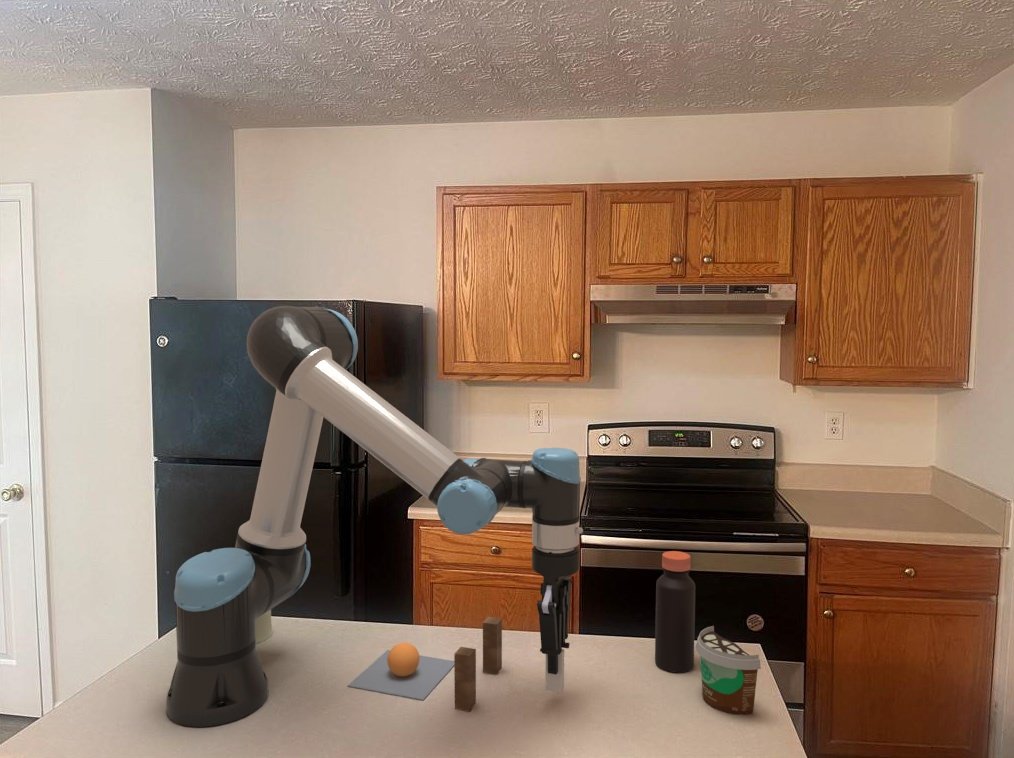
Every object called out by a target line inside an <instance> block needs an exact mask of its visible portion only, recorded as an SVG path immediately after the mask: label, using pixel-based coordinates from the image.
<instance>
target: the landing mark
mask: <svg viewBox="0 0 1014 758" xmlns="http://www.w3.org/2000/svg"><path fill="white" fill-rule="evenodd" d="M390 650H391V649H389V650H388V649H387V650H386V651H385V652H383V653H382V654H381V655H380V656H379V657H378V658H377V659H376V660H374V662H372V663H371V664H370V665H368V667H367V668H365V669H364V671H362V672H361V673H360V674H359V675H358V676H357V677H355V679H353V680H352V681H351V682H349V684H348V685H347V687H348V688H353V689H357V690H358V689H360V690H364V691H369V692H374V693H379V694H386V695H390V696H396V697H401V698H406V699H410V700H411V699H412V700H417V701H422V702H423V701H425V700H426V698H427V697H429V695H430V694H431V693H432V692H433V690H435V689H436V687H437V686H438V685H439V684H440V682H441V681H442V680H444V678H445V677H446V676H447V675H448V674H449V672H450V671H451V670H452V669H453V668H454V660H451V659H444V658H439V657H432V656H425V655H421V654H419V665H418V667H417V669H416V670H415V671H414V672H413V673H412V674H410V675H408V676H404V677H401V676H397V675H395V674H394V673H392V672H391V670H390V669H389V666H388V662H387V658H388V654H389V652H390Z"/></svg>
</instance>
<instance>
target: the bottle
mask: <svg viewBox="0 0 1014 758" xmlns="http://www.w3.org/2000/svg"><path fill="white" fill-rule="evenodd" d="M691 556H692V555H690V554H689V553H686V552H683V551H677V550H671V551H664V552H663V553H662V554H661V557H662V558H661V569H662V571H663V574H661V575H660V576H659V577H658V579H656V583H655V585H656V586H655V587H656V588H655V634H654V636H655V637H654V639H655V640H654V641H655V642H654V644H655V645H654V646H655V647H654V662H655V664H656V666H658V668H660V669H661V670H664V671H666V672H669V673H675V674H676V673H678V674H679V673H686V672H689V671H691V670H692V669H693V667H694V664H695V630H696V629H695V626H696V625H695V624H696V621H695V620H696V583H695V582H694V580H693V579H692V578H691V577H690V576H689V573H690V571H691V559H692V558H691Z"/></svg>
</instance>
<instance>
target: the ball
mask: <svg viewBox="0 0 1014 758" xmlns="http://www.w3.org/2000/svg"><path fill="white" fill-rule="evenodd" d="M389 650H390V652H389V654H388V658H387V662H388V666H389V669H390V670H391V672H392V673H394V674H395V675H397V676H401V677H404V676H408V675H410V674H412V673H413V672H414V671H415V670H416V669H417V667H418V665H419V655H420V654H419V650H418V649H417V648H416V647H415V645H413V644H411V643H408V642H399V643H397V644H395V645H394V646H392V647H391V649H389Z"/></svg>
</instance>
